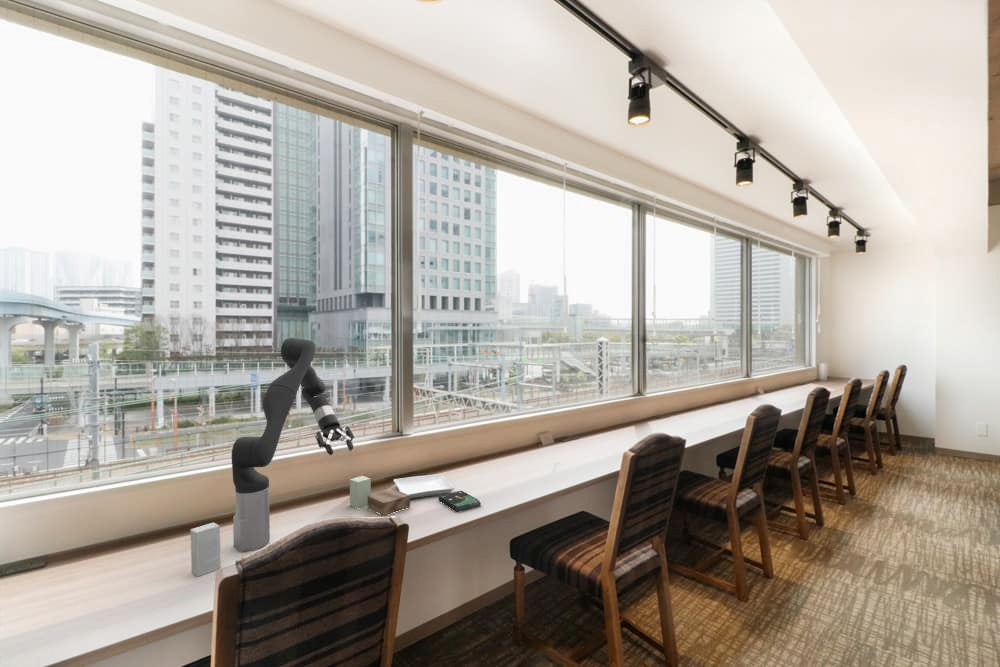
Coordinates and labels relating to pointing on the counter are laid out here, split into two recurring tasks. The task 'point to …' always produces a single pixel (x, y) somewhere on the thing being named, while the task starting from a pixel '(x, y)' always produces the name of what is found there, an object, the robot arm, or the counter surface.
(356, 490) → the sage block
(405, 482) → the salad plate
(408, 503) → the walnut block
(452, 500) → the disk drive
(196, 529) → the skincare box
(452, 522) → the counter surface
